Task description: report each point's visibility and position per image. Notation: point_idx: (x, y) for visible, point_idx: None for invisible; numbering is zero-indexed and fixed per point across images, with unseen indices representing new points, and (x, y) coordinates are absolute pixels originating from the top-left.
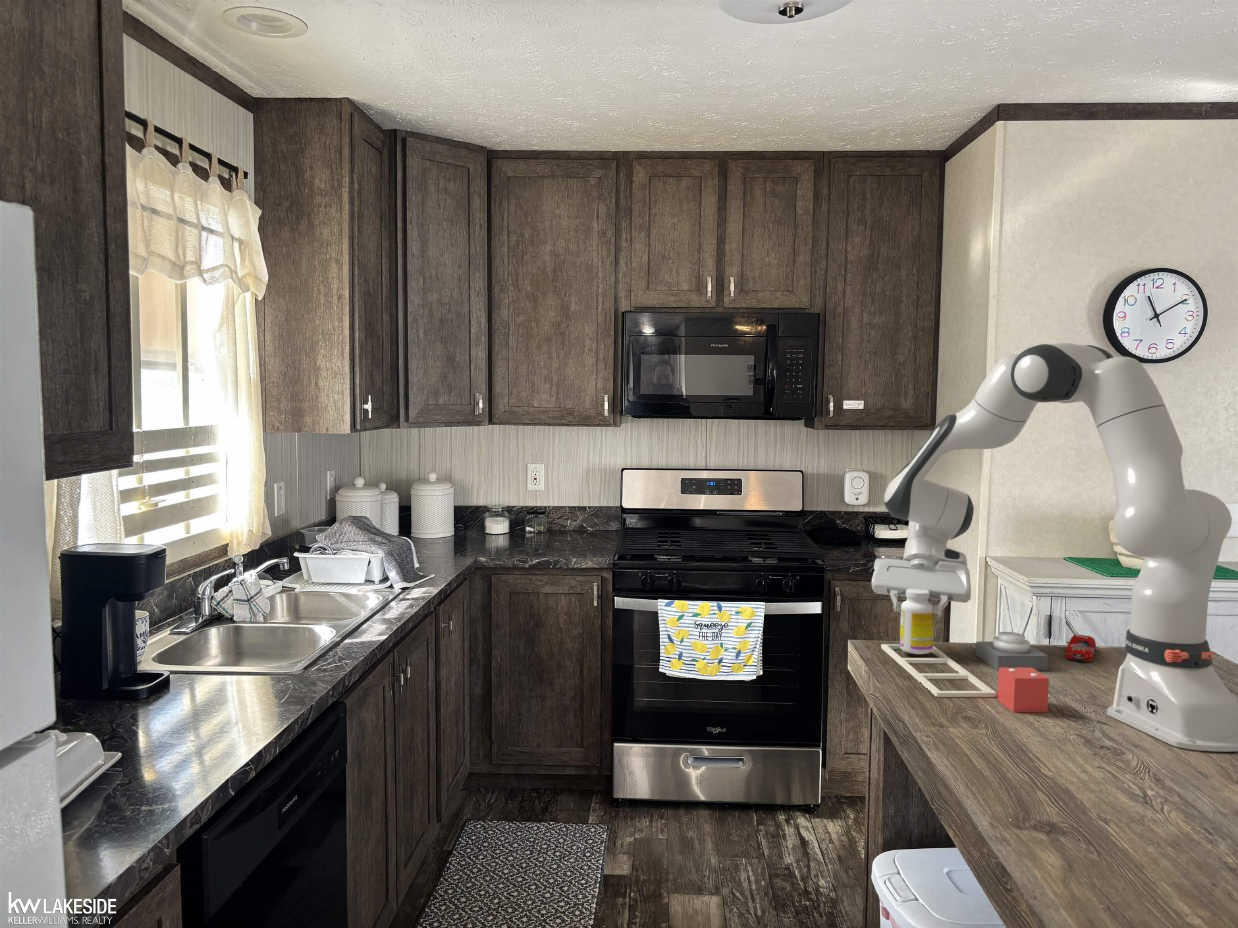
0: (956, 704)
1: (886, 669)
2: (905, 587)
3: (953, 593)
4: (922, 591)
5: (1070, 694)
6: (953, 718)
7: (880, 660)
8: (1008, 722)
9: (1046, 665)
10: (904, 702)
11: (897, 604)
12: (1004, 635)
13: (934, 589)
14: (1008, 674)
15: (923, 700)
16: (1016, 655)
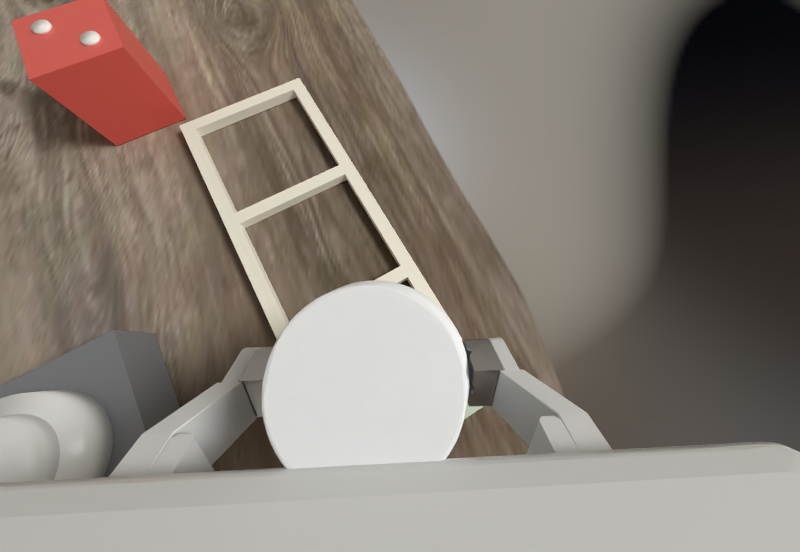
0: (265, 67)
1: (427, 201)
2: (495, 458)
3: (27, 482)
4: (322, 381)
5: (9, 220)
6: (270, 12)
7: (459, 265)
8: (181, 29)
9: None
10: (354, 42)
11: (487, 352)
12: (7, 453)
13: (202, 484)
14: (110, 14)
15: (324, 62)
16: (48, 365)
